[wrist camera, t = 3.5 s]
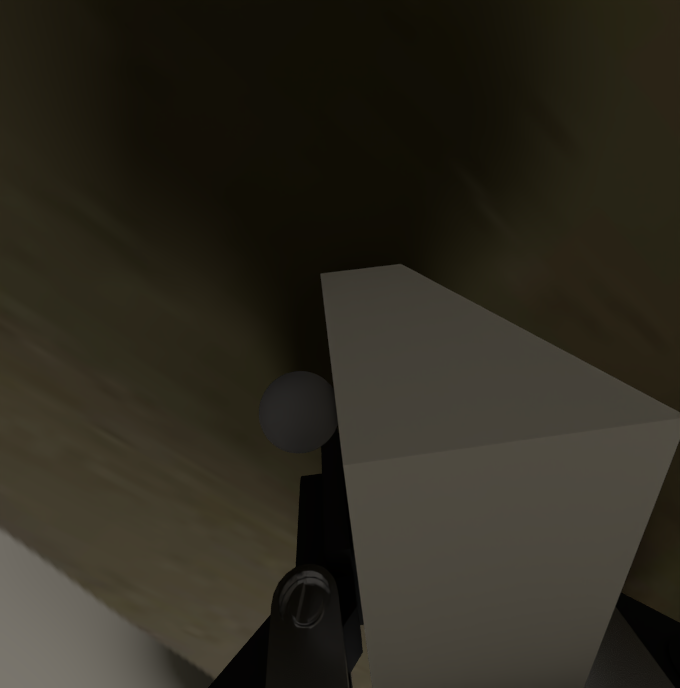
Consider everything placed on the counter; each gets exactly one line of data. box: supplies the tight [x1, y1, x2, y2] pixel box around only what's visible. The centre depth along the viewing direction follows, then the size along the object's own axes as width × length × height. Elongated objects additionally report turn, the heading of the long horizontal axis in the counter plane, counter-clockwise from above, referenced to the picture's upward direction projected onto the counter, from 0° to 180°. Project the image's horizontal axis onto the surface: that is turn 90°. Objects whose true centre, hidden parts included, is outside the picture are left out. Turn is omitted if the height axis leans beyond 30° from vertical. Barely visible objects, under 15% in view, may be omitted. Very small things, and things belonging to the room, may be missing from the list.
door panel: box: [259, 264, 680, 688], centre depth 8 cm, size 12×4×8 cm, turn 6°
